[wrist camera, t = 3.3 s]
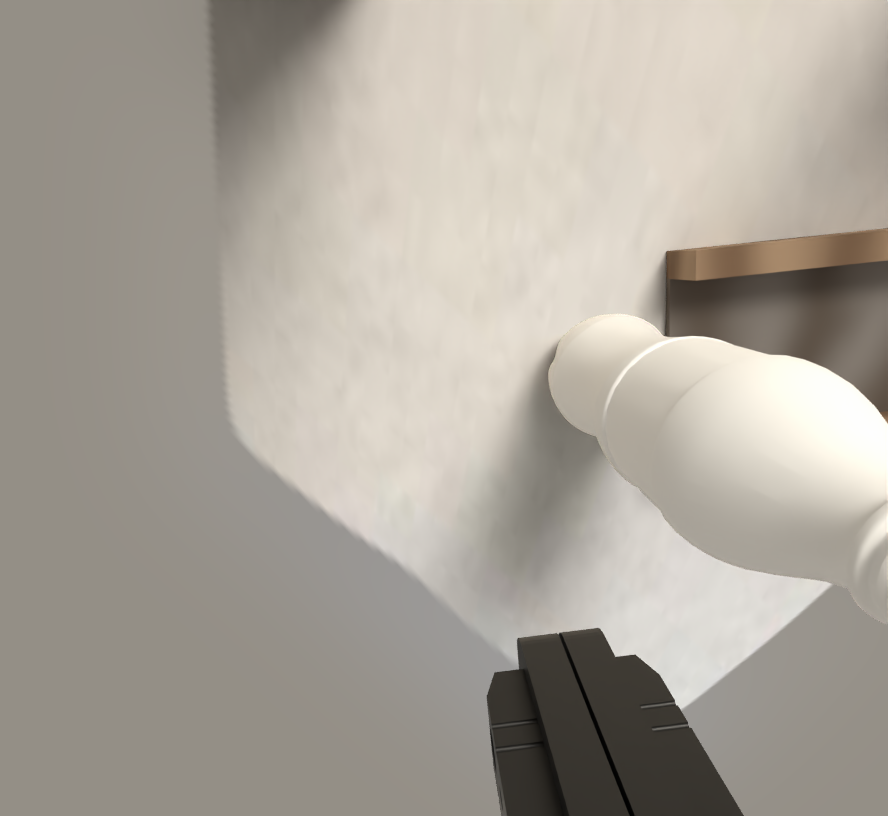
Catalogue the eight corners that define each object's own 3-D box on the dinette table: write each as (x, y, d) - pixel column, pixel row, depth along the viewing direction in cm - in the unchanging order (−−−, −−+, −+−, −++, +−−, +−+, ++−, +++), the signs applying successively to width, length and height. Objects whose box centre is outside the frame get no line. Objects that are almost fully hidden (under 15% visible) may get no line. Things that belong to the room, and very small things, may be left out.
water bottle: (578, 442, 35) (932, 829, 11) (517, 355, 34) (783, 594, 10) (671, 378, 35) (1265, 646, 11) (614, 285, 33) (1169, 355, 9)
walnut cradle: (664, 456, 36) (690, 477, 33) (666, 251, 33) (696, 250, 29) (911, 428, 37) (962, 445, 33) (940, 222, 33) (1000, 218, 30)
